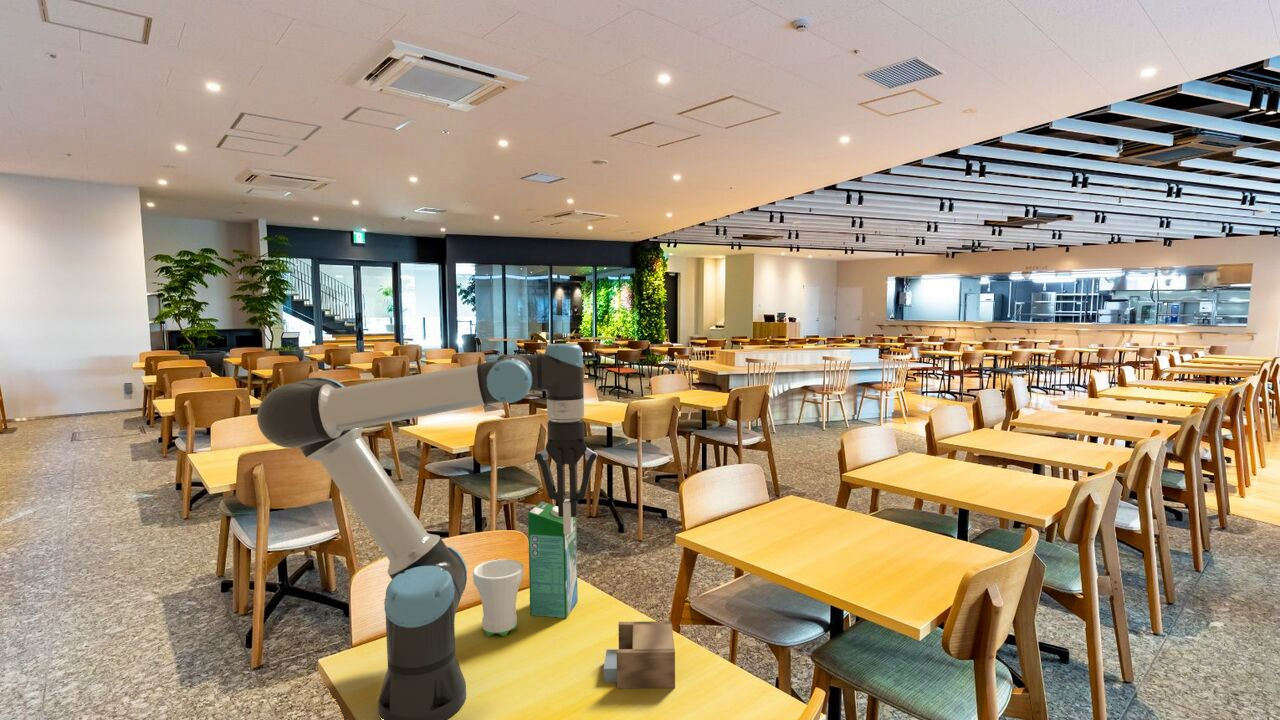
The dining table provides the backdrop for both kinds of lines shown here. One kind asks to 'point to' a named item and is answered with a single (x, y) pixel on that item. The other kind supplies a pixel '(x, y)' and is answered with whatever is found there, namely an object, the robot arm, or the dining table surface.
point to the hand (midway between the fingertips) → (568, 531)
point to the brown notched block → (646, 655)
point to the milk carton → (551, 563)
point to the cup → (498, 594)
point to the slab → (610, 666)
